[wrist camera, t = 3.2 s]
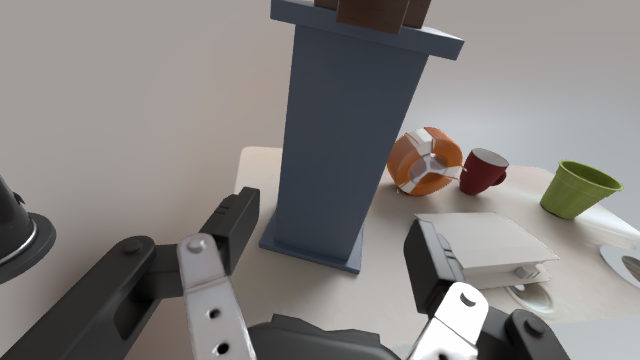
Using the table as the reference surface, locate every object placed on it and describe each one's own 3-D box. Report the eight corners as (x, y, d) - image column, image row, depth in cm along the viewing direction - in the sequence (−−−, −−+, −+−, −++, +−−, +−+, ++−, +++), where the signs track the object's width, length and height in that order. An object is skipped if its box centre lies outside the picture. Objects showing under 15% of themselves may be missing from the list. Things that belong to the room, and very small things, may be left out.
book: (558, 279, 45) (575, 266, 43) (451, 293, 39) (464, 278, 36) (495, 217, 57) (505, 204, 54) (405, 220, 50) (413, 205, 48)
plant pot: (543, 191, 71) (574, 157, 64) (592, 221, 62) (633, 186, 56) (519, 197, 66) (550, 161, 59) (568, 231, 57) (610, 193, 51)
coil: (377, 178, 61) (399, 121, 52) (433, 183, 64) (462, 130, 55) (386, 197, 56) (412, 137, 47) (446, 201, 58) (482, 145, 50)
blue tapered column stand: (358, 274, 38) (465, 40, 20) (258, 246, 39) (270, -3, 21) (362, 213, 50) (433, 28, 31) (285, 193, 51) (308, 1, 32)
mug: (480, 182, 68) (502, 150, 63) (500, 202, 62) (526, 169, 56) (445, 179, 66) (465, 146, 61) (462, 199, 60) (485, 165, 54)
